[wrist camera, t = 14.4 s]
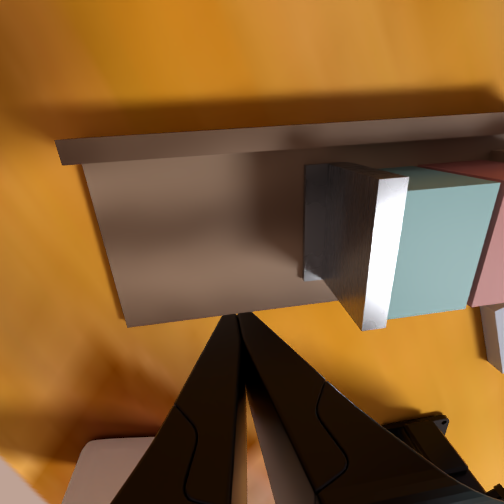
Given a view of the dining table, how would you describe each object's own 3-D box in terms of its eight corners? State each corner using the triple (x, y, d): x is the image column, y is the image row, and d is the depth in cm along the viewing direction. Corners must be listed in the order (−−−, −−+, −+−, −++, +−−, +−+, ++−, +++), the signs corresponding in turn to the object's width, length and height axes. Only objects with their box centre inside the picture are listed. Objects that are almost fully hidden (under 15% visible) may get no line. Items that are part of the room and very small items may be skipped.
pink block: (458, 253, 19) (544, 297, 14) (402, 259, 19) (471, 307, 14) (481, 159, 17) (594, 173, 12) (417, 164, 17) (508, 180, 12)
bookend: (339, 274, 19) (385, 327, 14) (302, 279, 18) (337, 334, 14) (346, 161, 16) (409, 176, 11) (304, 164, 16) (348, 182, 11)
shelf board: (470, 278, 21) (563, 332, 16) (129, 321, 19) (96, 403, 13) (516, 111, 17) (668, 102, 11) (79, 138, 14) (-2, 144, 9)
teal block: (397, 261, 19) (465, 308, 14) (338, 267, 19) (386, 319, 14) (412, 165, 17) (500, 182, 12) (345, 171, 16) (406, 191, 11)
